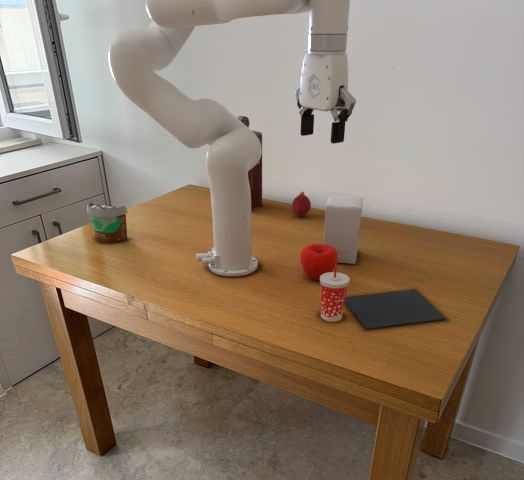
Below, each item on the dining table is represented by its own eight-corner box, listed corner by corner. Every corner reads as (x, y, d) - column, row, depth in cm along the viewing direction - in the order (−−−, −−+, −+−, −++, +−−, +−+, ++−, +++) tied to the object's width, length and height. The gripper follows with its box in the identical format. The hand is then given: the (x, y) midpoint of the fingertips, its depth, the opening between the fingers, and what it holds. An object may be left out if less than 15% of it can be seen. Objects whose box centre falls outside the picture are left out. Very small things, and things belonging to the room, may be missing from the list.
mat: (365, 329, 106) (366, 328, 105) (342, 299, 117) (342, 297, 117) (444, 320, 109) (445, 318, 109) (414, 290, 120) (414, 289, 120)
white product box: (356, 264, 133) (362, 207, 125) (321, 262, 134) (325, 205, 126) (357, 251, 140) (363, 196, 132) (324, 249, 142) (328, 194, 133)
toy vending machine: (249, 213, 167) (248, 120, 151) (225, 206, 173) (221, 116, 157) (267, 207, 172) (268, 116, 157) (243, 200, 178) (241, 112, 163)
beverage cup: (329, 306, 114) (334, 247, 106) (351, 316, 110) (358, 255, 103) (311, 316, 110) (315, 255, 103) (333, 326, 107) (339, 264, 99)
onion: (310, 220, 161) (312, 194, 157) (292, 219, 162) (293, 194, 157) (309, 213, 166) (310, 189, 162) (291, 213, 166) (292, 189, 162)
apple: (309, 288, 122) (311, 257, 117) (293, 273, 128) (294, 244, 124) (342, 281, 125) (345, 251, 120) (324, 267, 131) (326, 238, 127)
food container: (82, 241, 146) (75, 206, 141) (96, 234, 151) (90, 200, 146) (119, 247, 143) (113, 212, 137) (131, 239, 147) (126, 205, 142)
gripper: (284, 43, 103) (282, 134, 113) (343, 47, 92) (336, 148, 101) (312, 42, 107) (308, 130, 116) (373, 46, 95) (363, 143, 105)
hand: (321, 138), depth 109 cm, fingers open, 9 cm apart
